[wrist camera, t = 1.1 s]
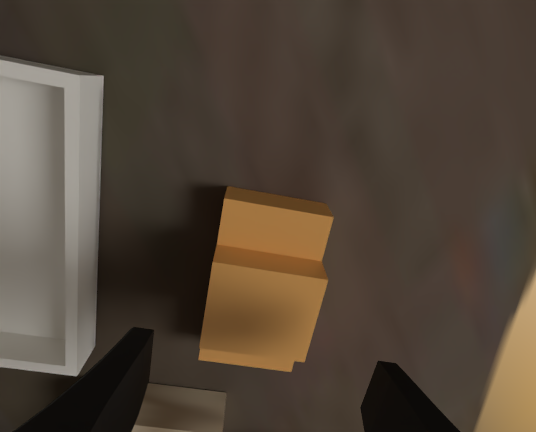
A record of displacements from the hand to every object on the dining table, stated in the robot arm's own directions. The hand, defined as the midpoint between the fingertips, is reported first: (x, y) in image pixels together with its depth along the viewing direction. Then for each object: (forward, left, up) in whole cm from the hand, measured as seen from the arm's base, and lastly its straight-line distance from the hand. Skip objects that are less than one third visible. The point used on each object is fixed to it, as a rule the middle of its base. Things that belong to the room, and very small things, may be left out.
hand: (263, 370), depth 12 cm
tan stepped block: (0, 0, -6) cm, 6 cm away
